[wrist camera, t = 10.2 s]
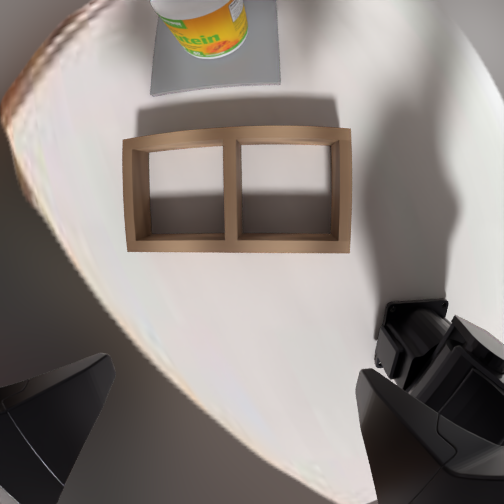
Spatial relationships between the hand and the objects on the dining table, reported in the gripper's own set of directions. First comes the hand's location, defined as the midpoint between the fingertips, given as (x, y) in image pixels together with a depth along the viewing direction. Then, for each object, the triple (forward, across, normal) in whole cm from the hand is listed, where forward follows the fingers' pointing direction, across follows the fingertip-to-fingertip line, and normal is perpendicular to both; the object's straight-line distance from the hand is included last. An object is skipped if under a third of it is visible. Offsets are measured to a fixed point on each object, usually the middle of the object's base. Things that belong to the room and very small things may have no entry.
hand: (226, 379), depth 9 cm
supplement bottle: (+13, +3, -19) cm, 23 cm away
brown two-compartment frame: (+13, +1, -6) cm, 14 cm away
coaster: (+13, +3, -19) cm, 23 cm away
